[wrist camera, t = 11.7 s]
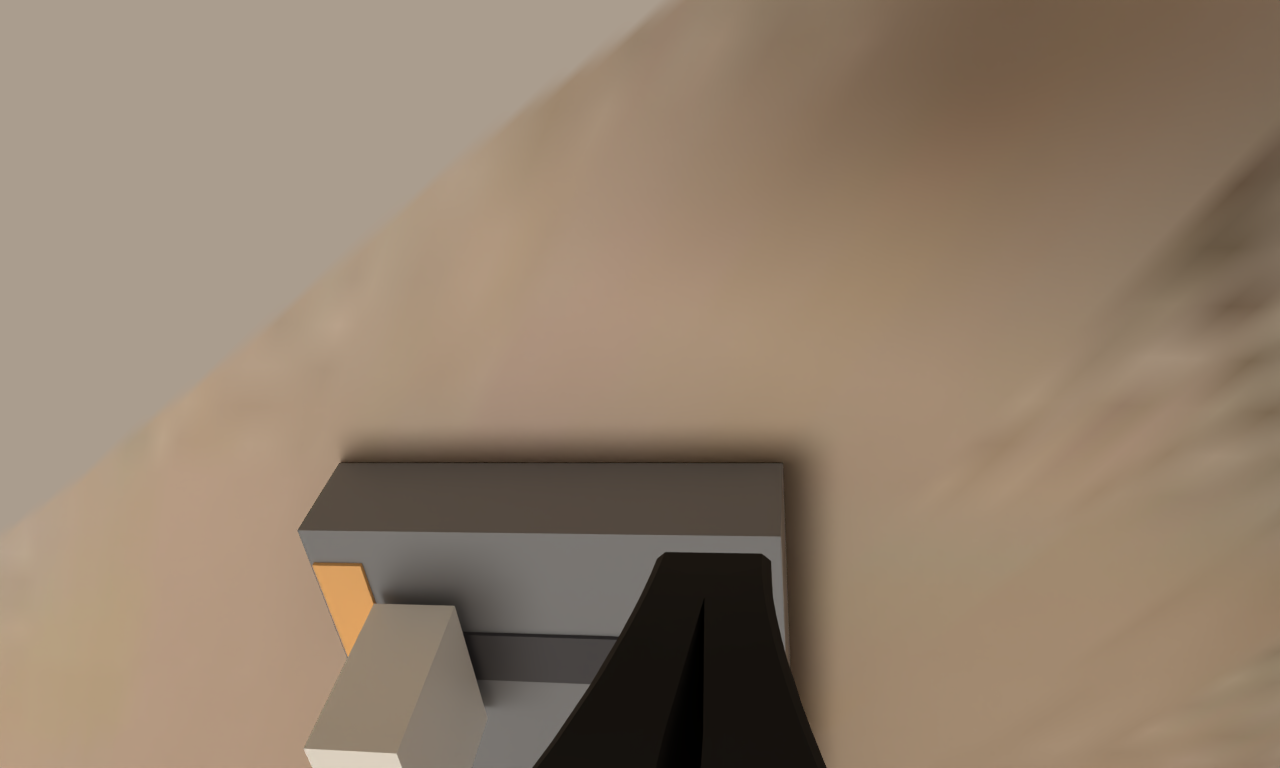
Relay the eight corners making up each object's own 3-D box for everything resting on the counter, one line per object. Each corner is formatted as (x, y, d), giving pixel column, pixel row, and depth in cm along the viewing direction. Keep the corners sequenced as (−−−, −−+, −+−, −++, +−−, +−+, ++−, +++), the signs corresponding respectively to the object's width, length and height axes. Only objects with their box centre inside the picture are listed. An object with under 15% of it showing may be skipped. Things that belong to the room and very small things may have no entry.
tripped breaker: (454, 605, 23) (396, 753, 20) (487, 717, 25) (439, 868, 22) (373, 603, 23) (303, 748, 20) (413, 714, 26) (355, 861, 22)
